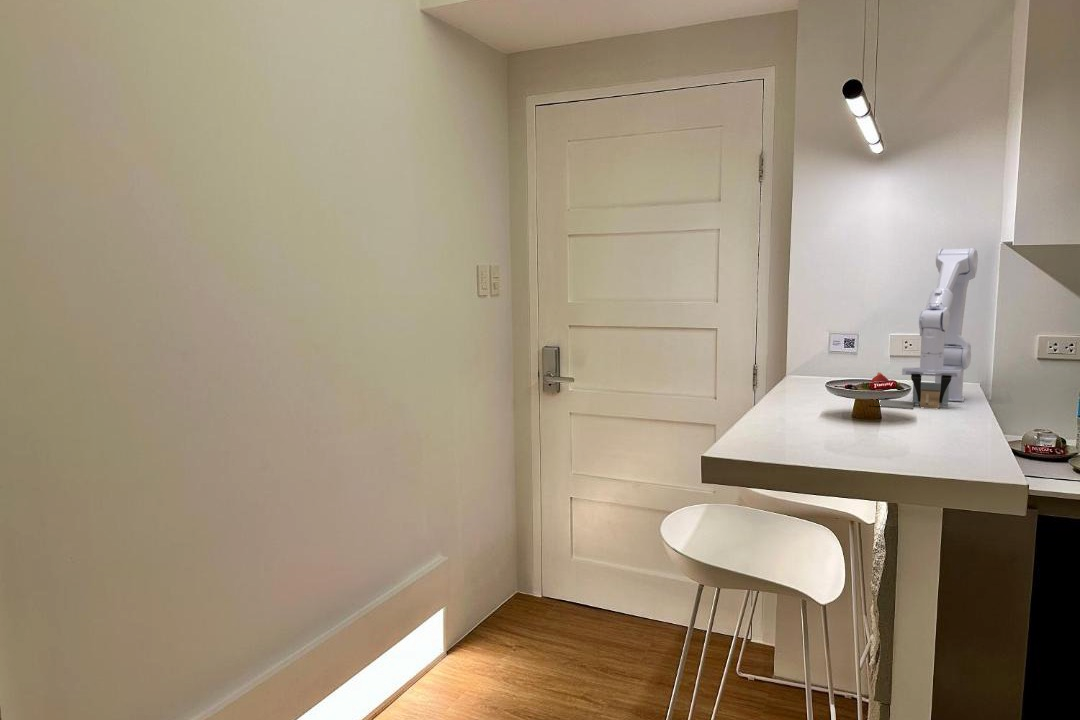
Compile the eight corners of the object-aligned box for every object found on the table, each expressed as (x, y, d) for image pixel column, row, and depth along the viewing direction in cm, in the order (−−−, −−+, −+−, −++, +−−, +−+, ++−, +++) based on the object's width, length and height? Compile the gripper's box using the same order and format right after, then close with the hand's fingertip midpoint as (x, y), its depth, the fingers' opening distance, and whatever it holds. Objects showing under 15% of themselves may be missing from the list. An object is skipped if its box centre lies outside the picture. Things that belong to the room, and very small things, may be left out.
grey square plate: (872, 400, 222) (872, 399, 221) (914, 403, 216) (914, 401, 216) (869, 406, 212) (869, 404, 212) (912, 409, 207) (912, 407, 207)
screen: (912, 401, 219) (913, 381, 218) (948, 403, 215) (949, 382, 214) (912, 403, 216) (913, 382, 215) (948, 405, 212) (949, 384, 211)
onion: (885, 397, 227) (887, 371, 226) (893, 400, 221) (894, 373, 220) (865, 397, 227) (866, 371, 227) (872, 400, 222) (873, 373, 221)
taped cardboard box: (920, 405, 213) (921, 388, 213) (939, 406, 211) (939, 389, 210) (920, 407, 209) (920, 391, 208) (938, 408, 207) (939, 392, 206)
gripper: (902, 353, 208) (900, 402, 210) (962, 355, 202) (959, 405, 203) (903, 351, 215) (901, 398, 216) (962, 353, 208) (959, 401, 209)
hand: (929, 401), depth 210 cm, fingers closed on taped cardboard box, 5 cm apart
